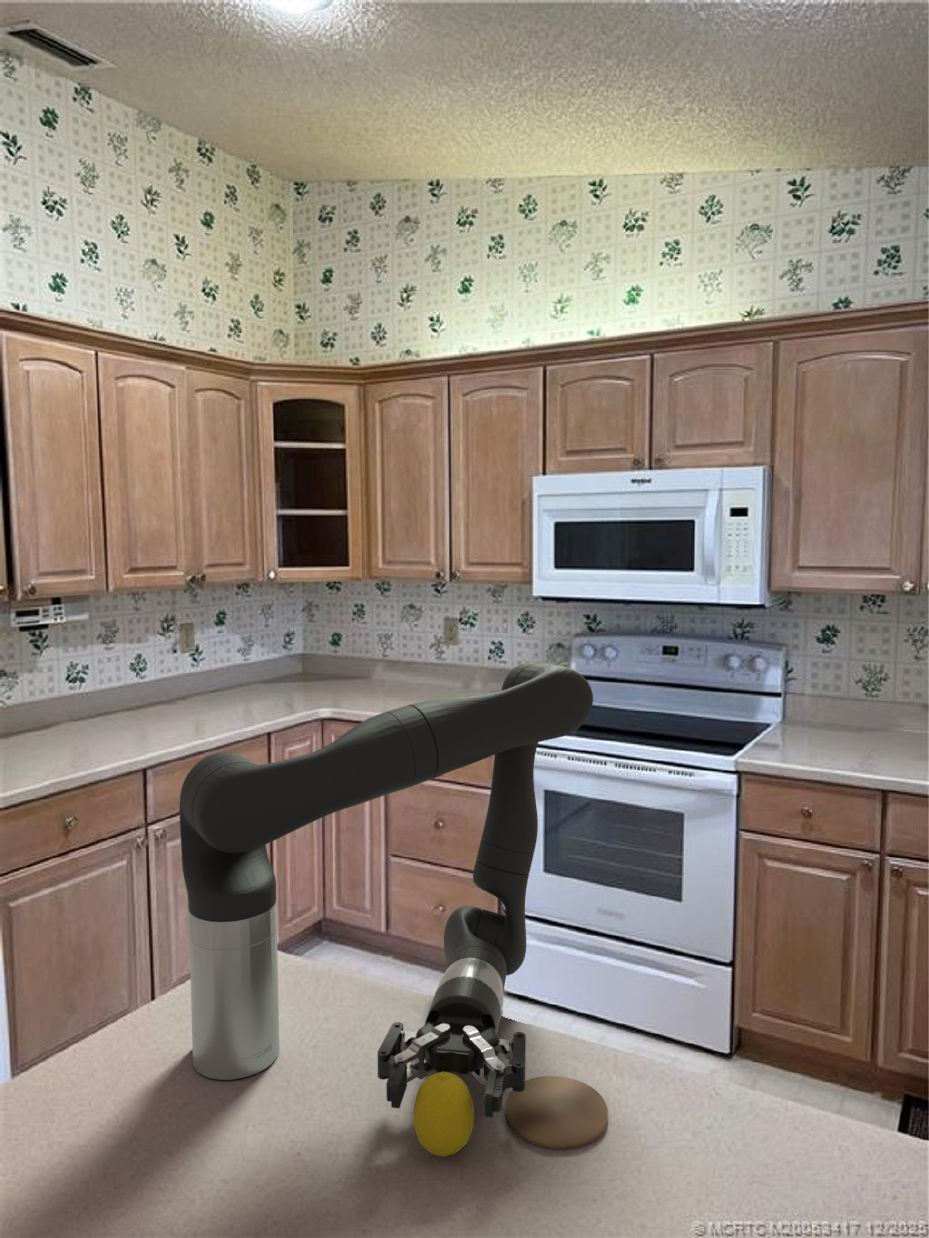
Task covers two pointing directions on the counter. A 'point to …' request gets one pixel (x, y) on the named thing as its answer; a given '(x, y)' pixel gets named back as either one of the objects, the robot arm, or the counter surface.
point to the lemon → (443, 1114)
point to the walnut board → (557, 1113)
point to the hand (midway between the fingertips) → (441, 1103)
